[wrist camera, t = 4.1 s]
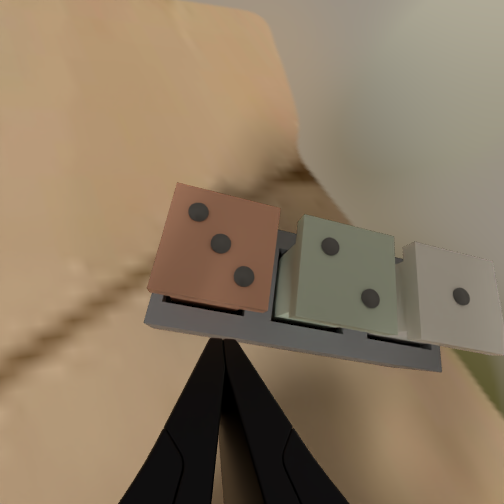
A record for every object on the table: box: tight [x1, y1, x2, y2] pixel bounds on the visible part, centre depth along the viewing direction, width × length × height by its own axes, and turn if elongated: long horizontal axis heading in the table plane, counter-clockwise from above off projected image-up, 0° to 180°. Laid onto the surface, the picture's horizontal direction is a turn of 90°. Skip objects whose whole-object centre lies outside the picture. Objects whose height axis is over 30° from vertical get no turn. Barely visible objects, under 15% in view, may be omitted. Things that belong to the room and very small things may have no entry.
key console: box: [144, 230, 442, 372], centre depth 22 cm, size 8×21×5 cm, turn 81°
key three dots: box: [147, 182, 281, 313], centre depth 17 cm, size 6×6×7 cm
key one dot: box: [367, 242, 504, 356], centre depth 19 cm, size 6×6×7 cm
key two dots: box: [271, 214, 398, 336], centre depth 18 cm, size 6×6×7 cm
